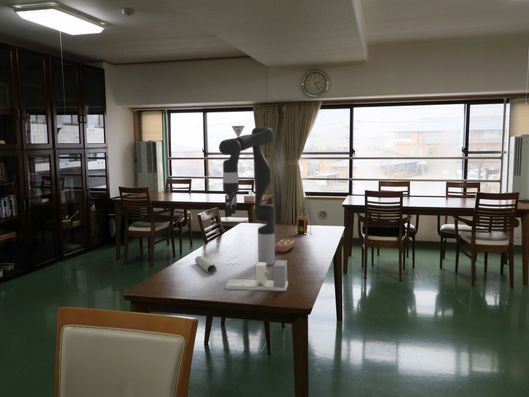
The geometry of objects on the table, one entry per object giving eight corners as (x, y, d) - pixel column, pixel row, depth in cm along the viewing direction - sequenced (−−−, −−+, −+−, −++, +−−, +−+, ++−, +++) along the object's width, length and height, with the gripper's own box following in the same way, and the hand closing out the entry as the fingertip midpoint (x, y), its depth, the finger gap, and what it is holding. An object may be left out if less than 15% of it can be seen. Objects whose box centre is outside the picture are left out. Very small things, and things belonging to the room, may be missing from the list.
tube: (192, 257, 249) (205, 267, 226) (200, 253, 251) (214, 262, 228) (195, 265, 250) (208, 276, 228) (204, 261, 252) (218, 272, 230)
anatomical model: (282, 245, 294) (282, 238, 294) (297, 246, 291) (297, 238, 291) (273, 253, 273) (273, 245, 272) (288, 254, 270) (288, 246, 269)
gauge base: (230, 282, 214) (229, 258, 213) (288, 284, 210) (288, 260, 208) (225, 288, 204) (224, 264, 203) (285, 290, 200) (285, 266, 199)
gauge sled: (258, 280, 210) (258, 262, 209) (269, 281, 209) (268, 262, 208) (255, 285, 202) (255, 266, 201) (266, 286, 201) (266, 266, 200)
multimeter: (315, 233, 335) (315, 206, 333) (309, 235, 326) (309, 208, 324) (298, 231, 343) (298, 205, 340) (292, 233, 334) (292, 207, 332)
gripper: (235, 182, 206) (235, 217, 208) (241, 180, 220) (242, 212, 222) (219, 182, 207) (220, 217, 209) (226, 180, 221) (227, 212, 223)
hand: (231, 214), depth 215 cm, fingers open, 8 cm apart
